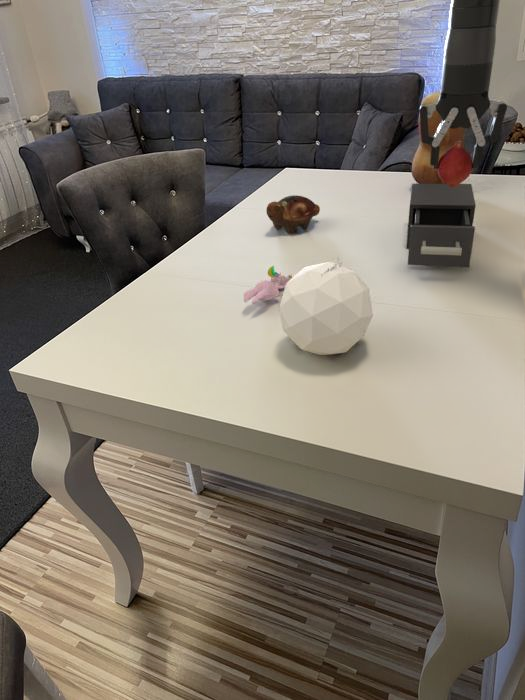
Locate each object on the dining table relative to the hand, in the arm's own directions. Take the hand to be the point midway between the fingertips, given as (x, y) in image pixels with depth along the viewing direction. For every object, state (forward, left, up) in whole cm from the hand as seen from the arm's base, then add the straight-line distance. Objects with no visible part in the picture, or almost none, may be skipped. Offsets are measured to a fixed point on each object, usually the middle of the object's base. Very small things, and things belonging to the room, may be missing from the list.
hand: (454, 167), depth 94 cm
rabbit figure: (+31, +16, -20) cm, 40 cm away
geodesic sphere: (+18, +31, -20) cm, 41 cm away
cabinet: (+1, -17, -19) cm, 26 cm away
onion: (0, 0, -4) cm, 4 cm away
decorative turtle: (+34, -20, -20) cm, 44 cm away
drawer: (+1, -3, -18) cm, 19 cm away
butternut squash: (+1, -51, -20) cm, 54 cm away
